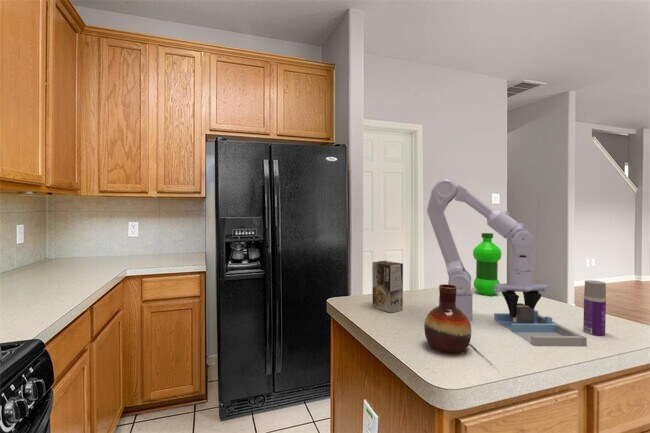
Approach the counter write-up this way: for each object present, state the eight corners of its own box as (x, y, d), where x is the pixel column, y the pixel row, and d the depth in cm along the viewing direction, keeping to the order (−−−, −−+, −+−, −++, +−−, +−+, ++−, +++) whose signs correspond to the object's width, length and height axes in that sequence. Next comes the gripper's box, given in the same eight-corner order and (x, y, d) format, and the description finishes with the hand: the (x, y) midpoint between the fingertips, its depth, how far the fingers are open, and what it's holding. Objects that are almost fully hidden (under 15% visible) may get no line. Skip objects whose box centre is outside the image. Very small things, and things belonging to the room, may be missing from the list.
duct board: (533, 349, 83) (533, 331, 83) (494, 322, 102) (494, 308, 102) (586, 349, 83) (586, 331, 83) (536, 323, 102) (537, 308, 102)
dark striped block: (520, 325, 94) (520, 309, 94) (508, 318, 100) (509, 302, 100) (534, 325, 94) (534, 309, 94) (521, 318, 100) (522, 303, 100)
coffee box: (403, 310, 115) (404, 263, 115) (390, 313, 111) (390, 265, 111) (384, 304, 123) (385, 260, 122) (371, 306, 119) (371, 261, 119)
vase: (434, 335, 92) (434, 279, 92) (476, 346, 85) (477, 285, 84) (416, 348, 83) (417, 286, 83) (462, 361, 76) (463, 293, 76)
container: (606, 341, 89) (607, 284, 88) (584, 337, 91) (585, 282, 91) (603, 335, 93) (604, 281, 92) (582, 332, 95) (583, 279, 95)
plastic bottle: (481, 289, 146) (482, 232, 145) (505, 294, 137) (506, 233, 137) (467, 292, 141) (468, 233, 140) (491, 298, 132) (492, 234, 131)
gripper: (503, 272, 93) (502, 320, 93) (555, 272, 93) (555, 321, 93) (490, 267, 100) (490, 313, 100) (539, 268, 100) (538, 313, 100)
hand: (520, 316), depth 97 cm, fingers closed on dark striped block, 4 cm apart
